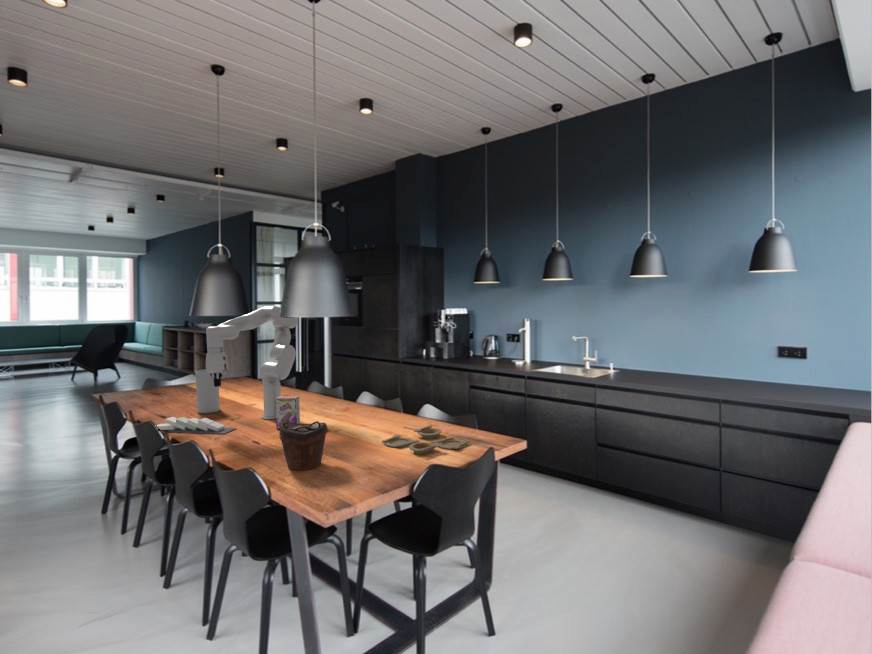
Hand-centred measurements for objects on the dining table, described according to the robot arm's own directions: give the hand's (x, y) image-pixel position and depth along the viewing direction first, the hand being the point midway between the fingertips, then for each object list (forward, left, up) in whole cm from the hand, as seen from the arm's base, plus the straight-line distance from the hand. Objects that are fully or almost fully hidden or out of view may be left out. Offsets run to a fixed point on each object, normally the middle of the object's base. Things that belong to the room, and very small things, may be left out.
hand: (217, 386), depth 253 cm
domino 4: (+5, +1, -22) cm, 22 cm away
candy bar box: (-34, -9, -23) cm, 42 cm away
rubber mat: (+10, +1, -23) cm, 25 cm away
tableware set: (-111, +7, -24) cm, 114 cm away
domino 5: (-2, +1, -22) cm, 22 cm away
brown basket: (-70, +42, -23) cm, 85 cm away
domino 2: (+18, +1, -22) cm, 28 cm away
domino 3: (+12, +1, -22) cm, 25 cm away
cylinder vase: (+36, -39, -23) cm, 58 cm away
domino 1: (+25, +1, -22) cm, 33 cm away
